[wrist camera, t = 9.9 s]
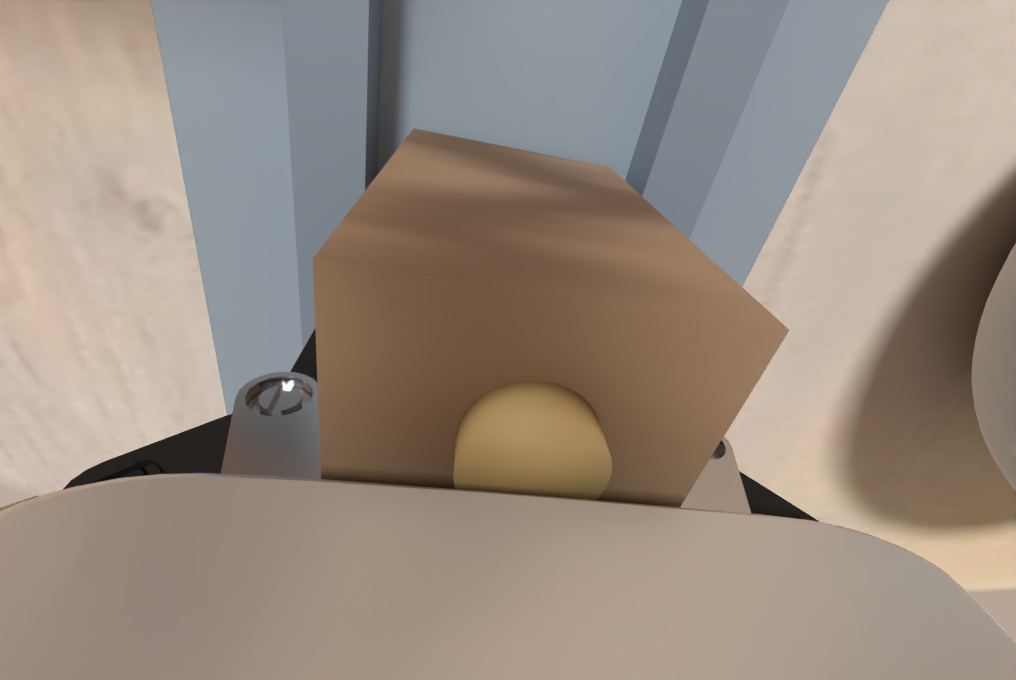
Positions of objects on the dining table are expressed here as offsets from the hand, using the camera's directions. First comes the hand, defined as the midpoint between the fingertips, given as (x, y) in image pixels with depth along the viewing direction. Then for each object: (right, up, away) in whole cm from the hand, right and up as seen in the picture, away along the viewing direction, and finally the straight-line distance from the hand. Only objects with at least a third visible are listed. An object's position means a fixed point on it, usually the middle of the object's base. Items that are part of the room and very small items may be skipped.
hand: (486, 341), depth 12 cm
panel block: (0, +1, +2) cm, 2 cm away
